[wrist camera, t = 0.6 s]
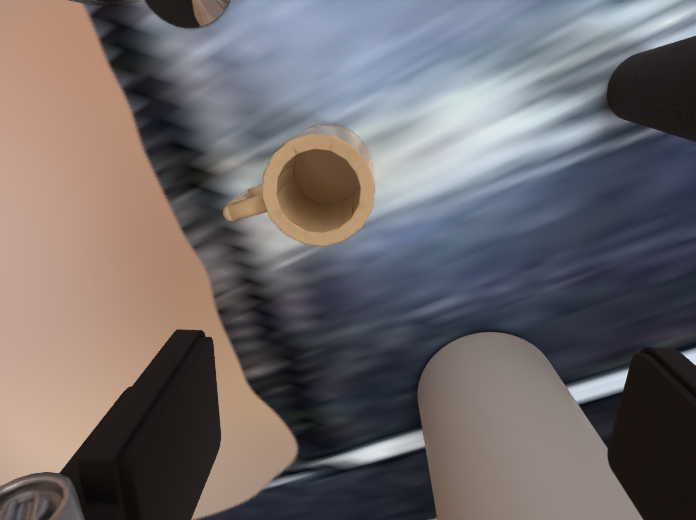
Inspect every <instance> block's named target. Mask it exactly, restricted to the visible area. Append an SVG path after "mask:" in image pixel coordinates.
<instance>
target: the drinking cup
mask: <svg viewBox="0 0 696 520" xmlns="http://www.w3.org/2000/svg"><path fill="white" fill-rule="evenodd" d="M607 96H608V102H609V105H610V107H611V109H612V110H613V112H614V113H615V114H616V115H617V116H619V117H620V118H622V119H624V120H627V121H631V122H634V123H637V124H640V125H643V126H647V127H650V128H653V129H656V130H659V131H663V132H666V133H669V134H672V135H675V136H678V137H682V138H685V139H688V140H691V141H694V142H696V36H694V37H690V38H687V39H684V40H681V41H677V42H674V43H671V44H668V45H664V46H661V47H658V48H655V49H651V50H648V51H645V52H642V53H638V54H636V55H633V56H631V57H629V58H628V59H626V60H625V61H624V62H622V63H621V64H620V65H619V66H618V67H617V69H616V70H615V71H614V73H613V75H612V77H611V79H610V82H609V85H608V92H607Z"/></svg>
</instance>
